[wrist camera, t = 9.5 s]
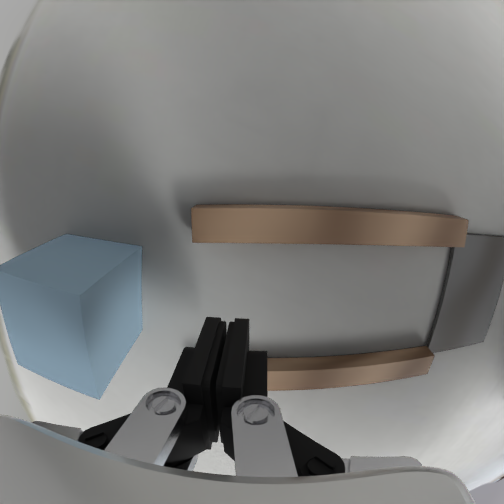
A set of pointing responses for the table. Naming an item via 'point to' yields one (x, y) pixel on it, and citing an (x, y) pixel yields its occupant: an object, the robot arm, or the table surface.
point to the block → (73, 309)
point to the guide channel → (371, 233)
